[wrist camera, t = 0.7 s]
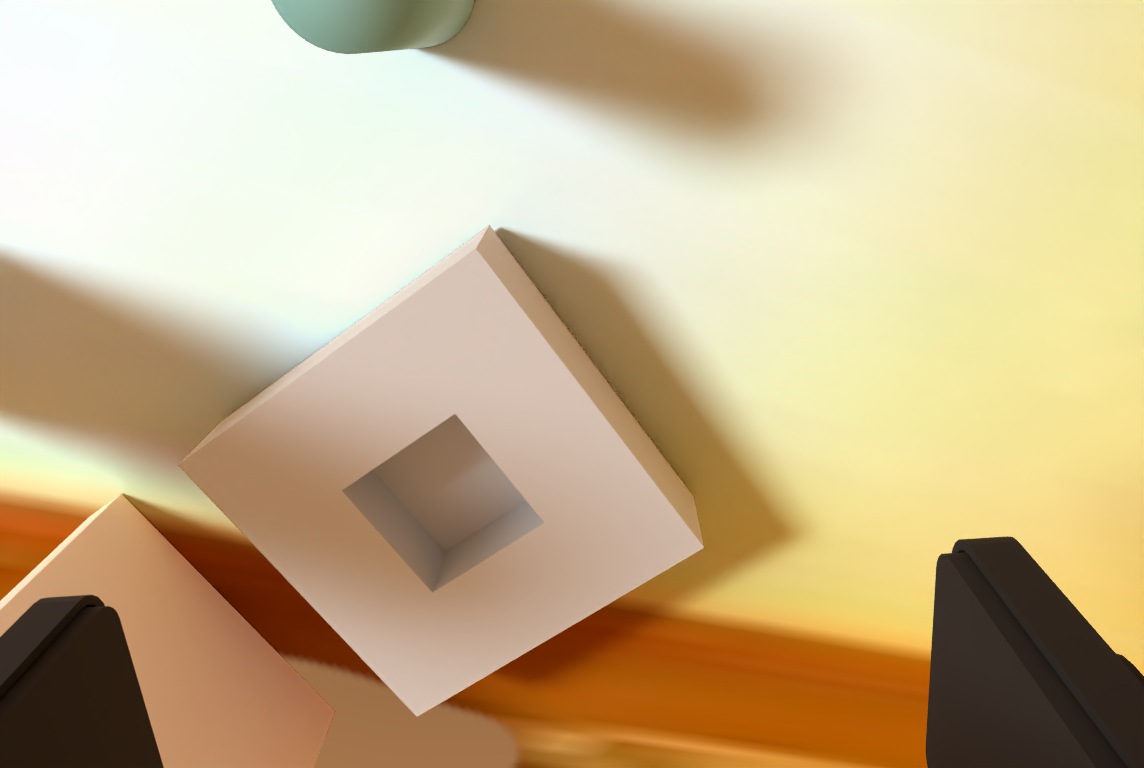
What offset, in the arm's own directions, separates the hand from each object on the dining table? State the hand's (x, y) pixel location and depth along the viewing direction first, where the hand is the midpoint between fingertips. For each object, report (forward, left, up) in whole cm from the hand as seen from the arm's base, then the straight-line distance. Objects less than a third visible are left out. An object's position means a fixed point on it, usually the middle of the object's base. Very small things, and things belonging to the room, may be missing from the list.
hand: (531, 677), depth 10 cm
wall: (+24, +5, -26) cm, 35 cm away
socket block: (+10, +5, -26) cm, 28 cm away
